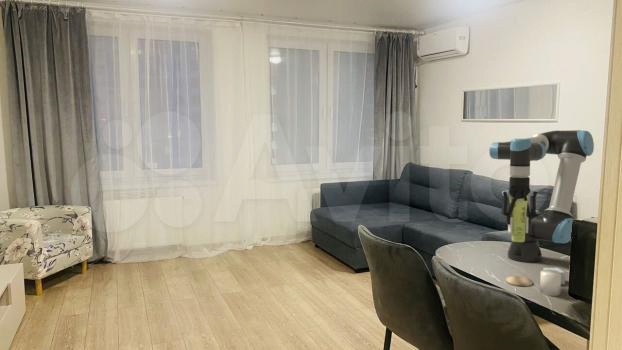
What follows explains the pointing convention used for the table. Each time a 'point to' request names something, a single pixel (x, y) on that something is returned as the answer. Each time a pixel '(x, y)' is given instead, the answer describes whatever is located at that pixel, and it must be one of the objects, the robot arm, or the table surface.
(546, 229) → the robot arm
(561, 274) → the box
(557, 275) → the white rounded cylinder
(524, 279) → the trivet
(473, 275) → the table surface
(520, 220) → the tube
